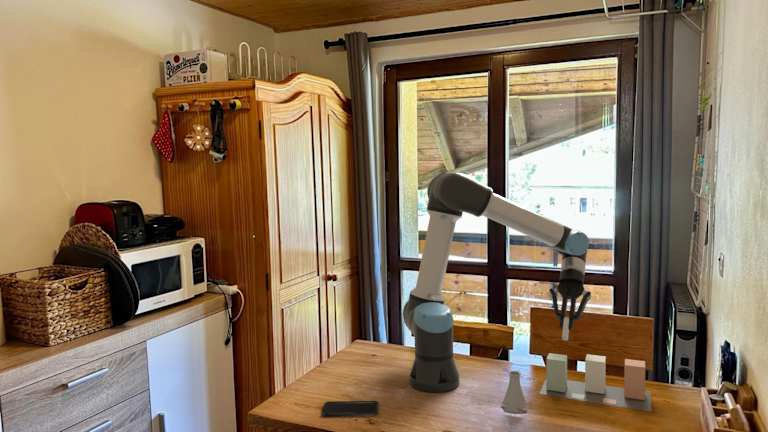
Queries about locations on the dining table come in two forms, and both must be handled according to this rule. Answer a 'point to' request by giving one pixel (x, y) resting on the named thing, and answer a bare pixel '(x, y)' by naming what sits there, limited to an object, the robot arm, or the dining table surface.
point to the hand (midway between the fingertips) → (564, 338)
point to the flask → (514, 395)
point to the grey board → (600, 396)
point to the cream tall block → (595, 373)
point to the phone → (350, 409)
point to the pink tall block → (634, 379)
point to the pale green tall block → (556, 372)
